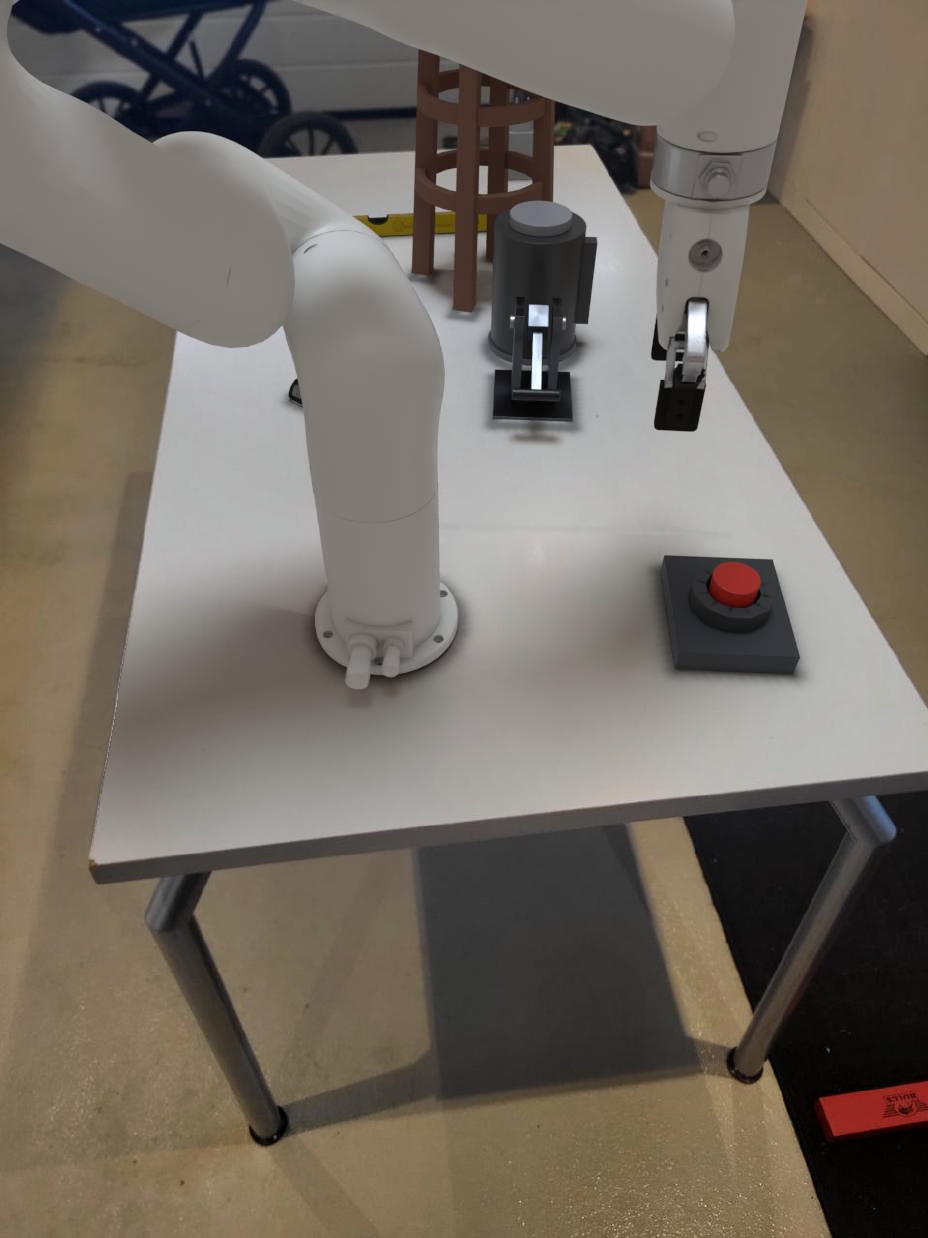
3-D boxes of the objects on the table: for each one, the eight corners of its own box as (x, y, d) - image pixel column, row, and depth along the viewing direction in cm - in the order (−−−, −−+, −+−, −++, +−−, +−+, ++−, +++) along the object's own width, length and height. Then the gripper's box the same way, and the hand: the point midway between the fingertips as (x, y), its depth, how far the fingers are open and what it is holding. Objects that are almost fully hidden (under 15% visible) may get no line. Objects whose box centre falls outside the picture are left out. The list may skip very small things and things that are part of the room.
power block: (793, 674, 75) (806, 642, 72) (674, 669, 75) (683, 637, 72) (766, 576, 83) (778, 544, 80) (660, 571, 83) (667, 540, 80)
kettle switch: (558, 406, 94) (560, 393, 91) (511, 404, 94) (512, 392, 91) (560, 319, 97) (562, 305, 95) (514, 317, 97) (515, 303, 95)
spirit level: (487, 228, 136) (488, 208, 133) (488, 231, 135) (489, 211, 133) (267, 238, 132) (264, 218, 130) (267, 242, 132) (264, 222, 129)
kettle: (586, 374, 107) (603, 235, 95) (486, 370, 107) (490, 232, 95) (581, 321, 116) (596, 188, 104) (489, 318, 116) (493, 185, 104)
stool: (430, -45, 106) (591, -33, 102) (434, 245, 131) (563, 263, 128) (374, -8, 93) (557, 7, 89) (391, 307, 118) (534, 328, 115)
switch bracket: (572, 428, 99) (583, 331, 91) (492, 425, 100) (495, 328, 91) (569, 380, 106) (579, 286, 98) (494, 377, 106) (497, 283, 98)
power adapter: (535, 178, 149) (541, 99, 141) (504, 179, 149) (507, 100, 140) (533, 171, 151) (537, 93, 143) (501, 172, 151) (504, 94, 142)
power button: (759, 609, 75) (764, 594, 74) (712, 607, 75) (716, 593, 74) (751, 576, 78) (756, 562, 76) (705, 575, 78) (710, 560, 77)
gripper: (788, 221, 51) (730, 462, 63) (757, 116, 62) (713, 337, 75) (655, 218, 52) (624, 456, 64) (649, 115, 63) (624, 334, 76)
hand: (672, 392), depth 70 cm, fingers open, 9 cm apart
